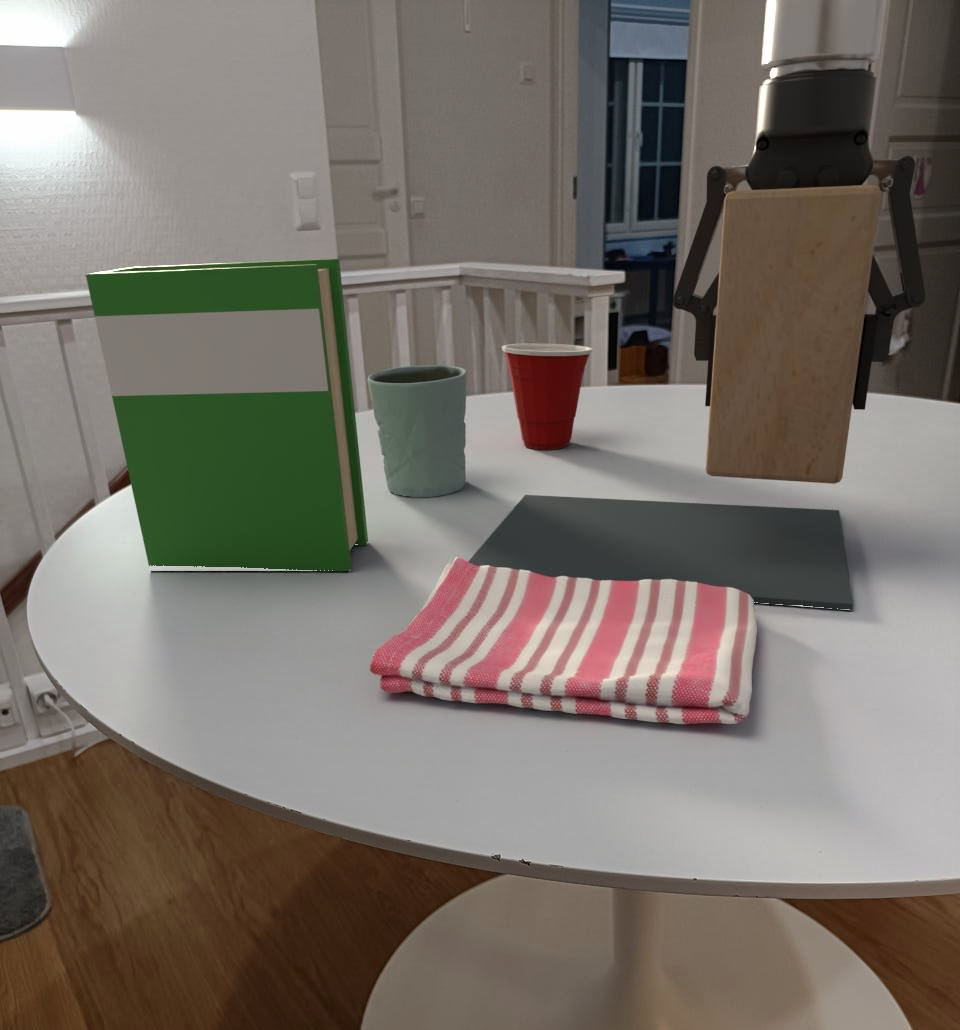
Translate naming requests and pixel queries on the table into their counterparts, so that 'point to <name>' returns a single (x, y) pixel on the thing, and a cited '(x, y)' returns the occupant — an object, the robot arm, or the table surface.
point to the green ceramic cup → (421, 428)
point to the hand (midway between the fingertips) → (783, 404)
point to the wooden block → (789, 330)
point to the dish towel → (578, 646)
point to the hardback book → (235, 411)
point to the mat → (679, 546)
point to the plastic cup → (546, 390)
